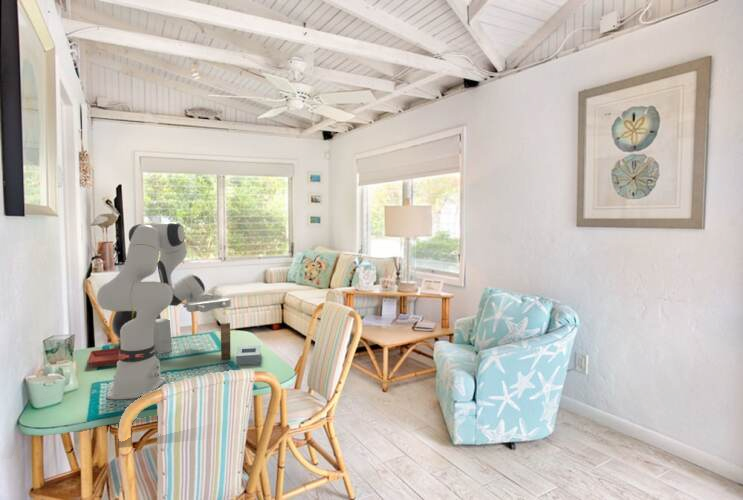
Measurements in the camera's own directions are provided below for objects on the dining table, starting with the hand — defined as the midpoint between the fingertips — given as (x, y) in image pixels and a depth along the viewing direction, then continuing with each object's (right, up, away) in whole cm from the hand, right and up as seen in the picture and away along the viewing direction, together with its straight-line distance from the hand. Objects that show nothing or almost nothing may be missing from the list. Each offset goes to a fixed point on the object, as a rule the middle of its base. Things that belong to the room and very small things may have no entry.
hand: (214, 307), depth 210 cm
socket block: (+18, -22, -8) cm, 30 cm away
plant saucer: (-41, -22, -11) cm, 48 cm away
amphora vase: (-43, -20, +13) cm, 49 cm away
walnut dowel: (+8, -22, -8) cm, 24 cm away
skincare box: (-26, -21, +3) cm, 33 cm away
